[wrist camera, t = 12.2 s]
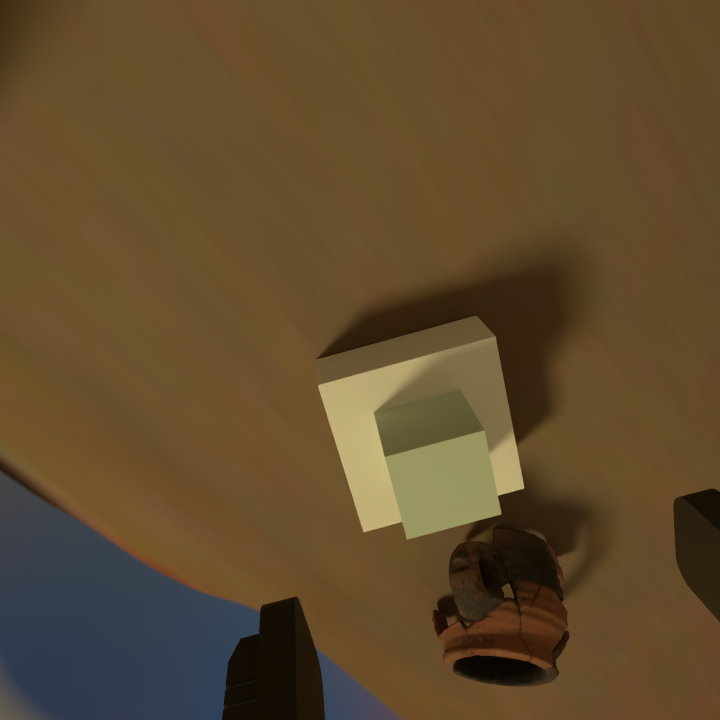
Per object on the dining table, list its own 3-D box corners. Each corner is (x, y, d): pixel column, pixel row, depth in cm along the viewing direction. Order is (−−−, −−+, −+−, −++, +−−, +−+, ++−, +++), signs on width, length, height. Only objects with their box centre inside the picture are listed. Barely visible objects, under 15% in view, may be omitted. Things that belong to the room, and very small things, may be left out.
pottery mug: (585, 568, 46) (597, 690, 41) (469, 583, 51) (467, 694, 46) (512, 488, 39) (515, 622, 34) (387, 515, 44) (372, 635, 39)
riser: (358, 495, 42) (363, 532, 38) (316, 359, 38) (317, 385, 34) (504, 455, 41) (524, 488, 38) (476, 315, 38) (495, 336, 34)
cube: (373, 412, 35) (384, 457, 30) (460, 389, 35) (484, 430, 30) (393, 486, 37) (407, 539, 32) (476, 464, 37) (501, 514, 32)
